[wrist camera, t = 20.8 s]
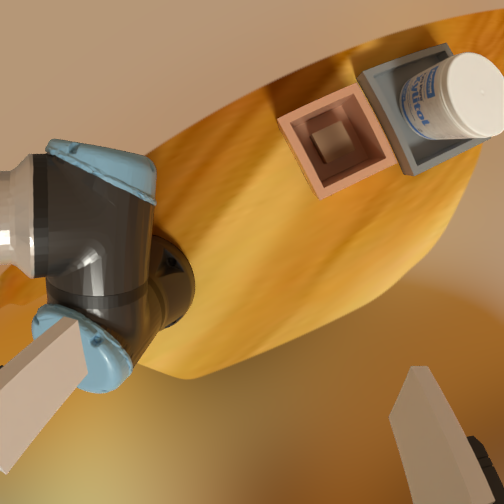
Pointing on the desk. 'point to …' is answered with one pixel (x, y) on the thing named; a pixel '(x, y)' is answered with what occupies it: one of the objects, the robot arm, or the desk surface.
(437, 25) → the desk surface
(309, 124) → the terracotta bin
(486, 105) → the supplement tub
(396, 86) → the gray tray
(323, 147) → the walnut block
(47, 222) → the robot arm
